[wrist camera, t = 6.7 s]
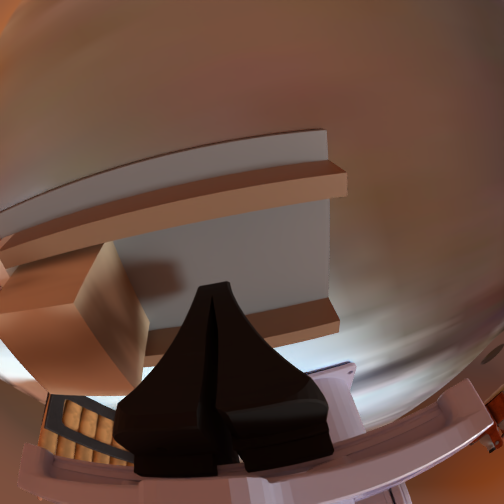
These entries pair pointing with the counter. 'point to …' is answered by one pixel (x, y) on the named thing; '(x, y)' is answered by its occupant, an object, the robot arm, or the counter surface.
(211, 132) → the counter surface
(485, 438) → the milk bottle holder
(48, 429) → the ammunition clip
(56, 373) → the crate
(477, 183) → the counter surface
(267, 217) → the bay
